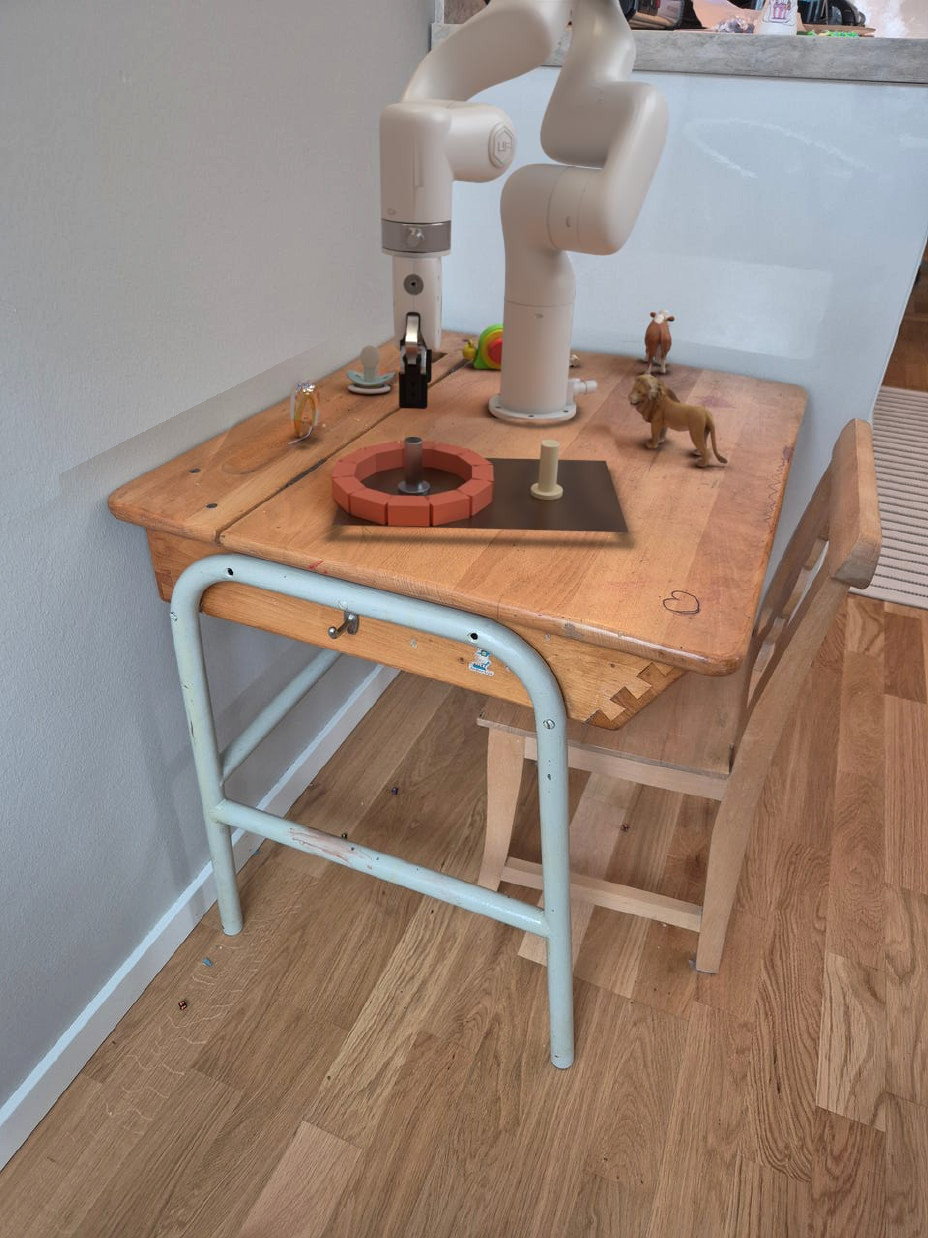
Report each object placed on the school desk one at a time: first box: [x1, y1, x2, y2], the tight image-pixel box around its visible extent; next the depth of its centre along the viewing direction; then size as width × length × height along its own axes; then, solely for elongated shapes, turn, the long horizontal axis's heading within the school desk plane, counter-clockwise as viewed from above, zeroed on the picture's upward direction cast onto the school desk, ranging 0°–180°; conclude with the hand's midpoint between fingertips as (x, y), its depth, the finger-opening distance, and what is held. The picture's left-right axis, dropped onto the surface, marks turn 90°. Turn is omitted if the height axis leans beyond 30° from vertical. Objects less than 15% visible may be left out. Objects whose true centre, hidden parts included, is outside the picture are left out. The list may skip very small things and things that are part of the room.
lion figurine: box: [627, 373, 728, 468], centre depth 110 cm, size 15×5×9 cm, turn 50°
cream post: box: [531, 439, 563, 500], centre depth 95 cm, size 4×4×6 cm
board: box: [332, 457, 629, 533], centre depth 98 cm, size 31×19×2 cm, turn 89°
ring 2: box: [330, 440, 494, 528], centre depth 96 cm, size 18×18×2 cm
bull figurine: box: [642, 309, 675, 375], centre depth 141 cm, size 4×13×8 cm, turn 167°
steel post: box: [398, 436, 430, 496], centre depth 95 cm, size 4×4×6 cm
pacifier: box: [345, 345, 396, 395], centre depth 129 cm, size 7×6×6 cm
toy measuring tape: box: [461, 323, 580, 370], centre depth 140 cm, size 6×20×7 cm, turn 96°
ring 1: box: [289, 378, 322, 439], centre depth 111 cm, size 7×3×8 cm, turn 160°
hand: (415, 394), depth 101 cm, fingers open, 9 cm apart
